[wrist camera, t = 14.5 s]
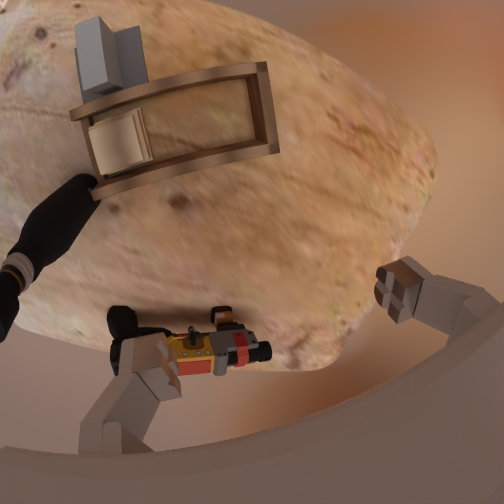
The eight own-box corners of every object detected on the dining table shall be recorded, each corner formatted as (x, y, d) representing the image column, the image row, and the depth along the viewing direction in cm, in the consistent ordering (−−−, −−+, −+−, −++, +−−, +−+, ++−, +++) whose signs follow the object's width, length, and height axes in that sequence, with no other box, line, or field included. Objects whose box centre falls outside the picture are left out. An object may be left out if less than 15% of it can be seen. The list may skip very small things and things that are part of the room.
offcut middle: (105, 171, 35) (101, 175, 33) (93, 126, 31) (88, 128, 29) (150, 156, 36) (149, 158, 34) (138, 109, 32) (136, 109, 30)
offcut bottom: (111, 171, 37) (107, 174, 35) (98, 122, 33) (93, 123, 31) (154, 157, 38) (152, 159, 36) (141, 107, 34) (139, 107, 32)
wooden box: (103, 189, 38) (94, 201, 33) (82, 110, 31) (69, 110, 26) (266, 146, 42) (280, 152, 37) (254, 67, 35) (266, 61, 30)
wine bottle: (60, 201, 36) (-43, 329, 11) (76, 166, 35) (-47, 269, 9) (92, 219, 39) (17, 367, 14) (109, 185, 38) (23, 316, 12)
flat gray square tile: (85, 106, 31) (84, 106, 31) (75, 49, 26) (74, 48, 25) (148, 84, 32) (148, 83, 32) (139, 26, 27) (138, 25, 27)
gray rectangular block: (104, 95, 31) (83, 90, 22) (95, 42, 26) (74, 25, 18) (123, 88, 31) (107, 81, 23) (115, 35, 27) (98, 15, 18)
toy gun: (245, 317, 59) (270, 370, 47) (111, 325, 50) (107, 385, 37) (249, 292, 56) (277, 345, 44) (105, 299, 47) (98, 360, 34)
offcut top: (104, 171, 33) (100, 174, 31) (92, 130, 30) (88, 131, 28) (144, 157, 34) (143, 160, 32) (134, 115, 30) (131, 115, 29)
